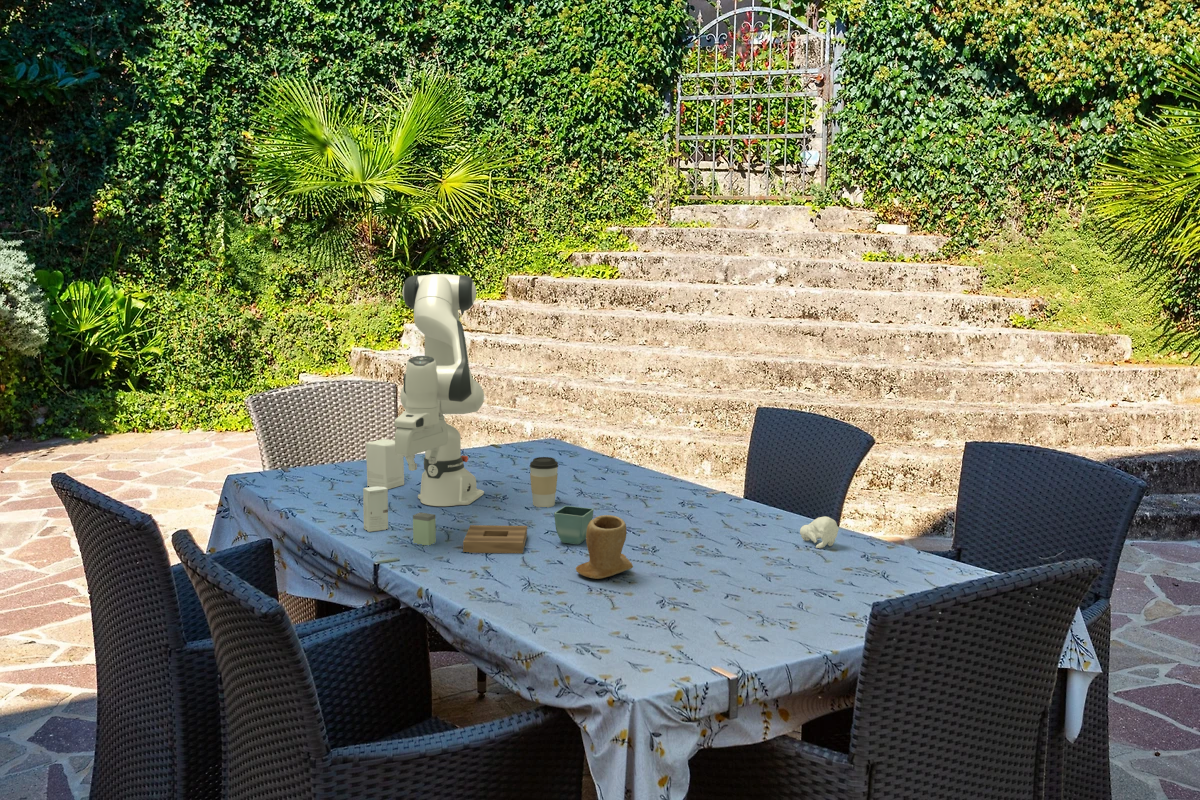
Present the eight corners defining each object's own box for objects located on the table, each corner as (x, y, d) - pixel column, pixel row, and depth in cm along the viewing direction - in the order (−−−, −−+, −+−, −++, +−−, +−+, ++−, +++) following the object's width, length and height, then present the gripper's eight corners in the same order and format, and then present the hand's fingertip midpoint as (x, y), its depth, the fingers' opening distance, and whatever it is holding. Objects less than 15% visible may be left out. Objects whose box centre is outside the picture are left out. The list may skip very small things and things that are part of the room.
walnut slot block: (470, 535, 308) (470, 525, 307) (526, 536, 308) (526, 525, 307) (463, 552, 292) (463, 541, 291) (522, 553, 292) (522, 542, 291)
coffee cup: (524, 506, 339) (524, 459, 337) (536, 499, 347) (537, 453, 345) (550, 509, 336) (551, 462, 333) (562, 502, 344) (563, 456, 342)
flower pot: (594, 539, 306) (594, 508, 304) (583, 547, 297) (583, 516, 296) (564, 535, 309) (564, 505, 307) (553, 544, 300) (553, 512, 299)
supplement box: (405, 485, 364) (404, 441, 362) (386, 490, 357) (385, 445, 354) (385, 481, 369) (384, 438, 367) (366, 486, 362) (365, 442, 359)
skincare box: (368, 532, 309) (367, 491, 307) (363, 528, 313) (362, 487, 311) (389, 529, 313) (388, 488, 311) (383, 525, 316) (382, 485, 314)
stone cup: (601, 586, 266) (601, 527, 264) (569, 574, 275) (569, 517, 273) (645, 573, 277) (646, 516, 274) (613, 562, 285) (614, 506, 283)
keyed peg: (420, 540, 303) (420, 512, 301) (435, 542, 301) (435, 514, 299) (413, 543, 300) (412, 515, 298) (428, 546, 298) (428, 517, 296)
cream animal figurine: (823, 520, 296) (793, 514, 306) (824, 551, 296) (793, 543, 306) (840, 516, 299) (809, 510, 309) (841, 547, 300) (810, 540, 310)
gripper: (434, 410, 305) (434, 458, 307) (390, 421, 287) (391, 472, 289) (453, 412, 302) (453, 460, 305) (410, 423, 284) (411, 475, 286)
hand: (422, 466), depth 297 cm, fingers open, 8 cm apart
